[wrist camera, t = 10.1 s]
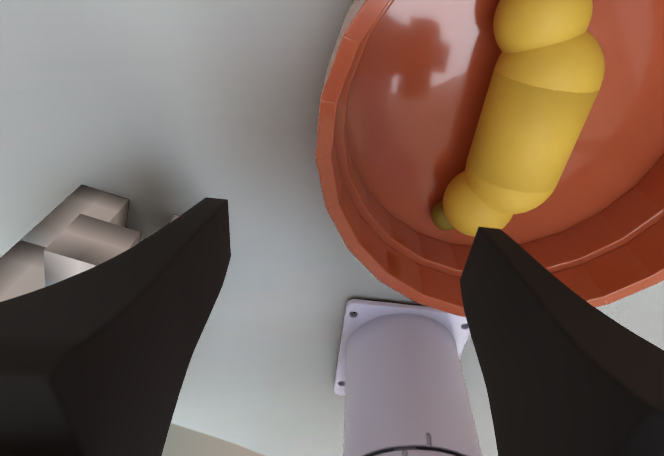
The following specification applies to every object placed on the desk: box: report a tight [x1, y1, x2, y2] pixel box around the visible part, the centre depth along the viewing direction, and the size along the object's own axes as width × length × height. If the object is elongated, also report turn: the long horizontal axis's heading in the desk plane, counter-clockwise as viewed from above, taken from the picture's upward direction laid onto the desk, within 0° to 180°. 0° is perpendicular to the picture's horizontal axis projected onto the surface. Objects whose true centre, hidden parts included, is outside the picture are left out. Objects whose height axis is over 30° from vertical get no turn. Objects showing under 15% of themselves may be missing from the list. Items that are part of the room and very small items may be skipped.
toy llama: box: [0, 185, 179, 302], centre depth 19 cm, size 8×18×20 cm, turn 160°
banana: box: [431, 0, 605, 237], centre depth 17 cm, size 12×4×4 cm, turn 175°
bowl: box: [316, 0, 664, 317], centre depth 17 cm, size 17×17×5 cm
